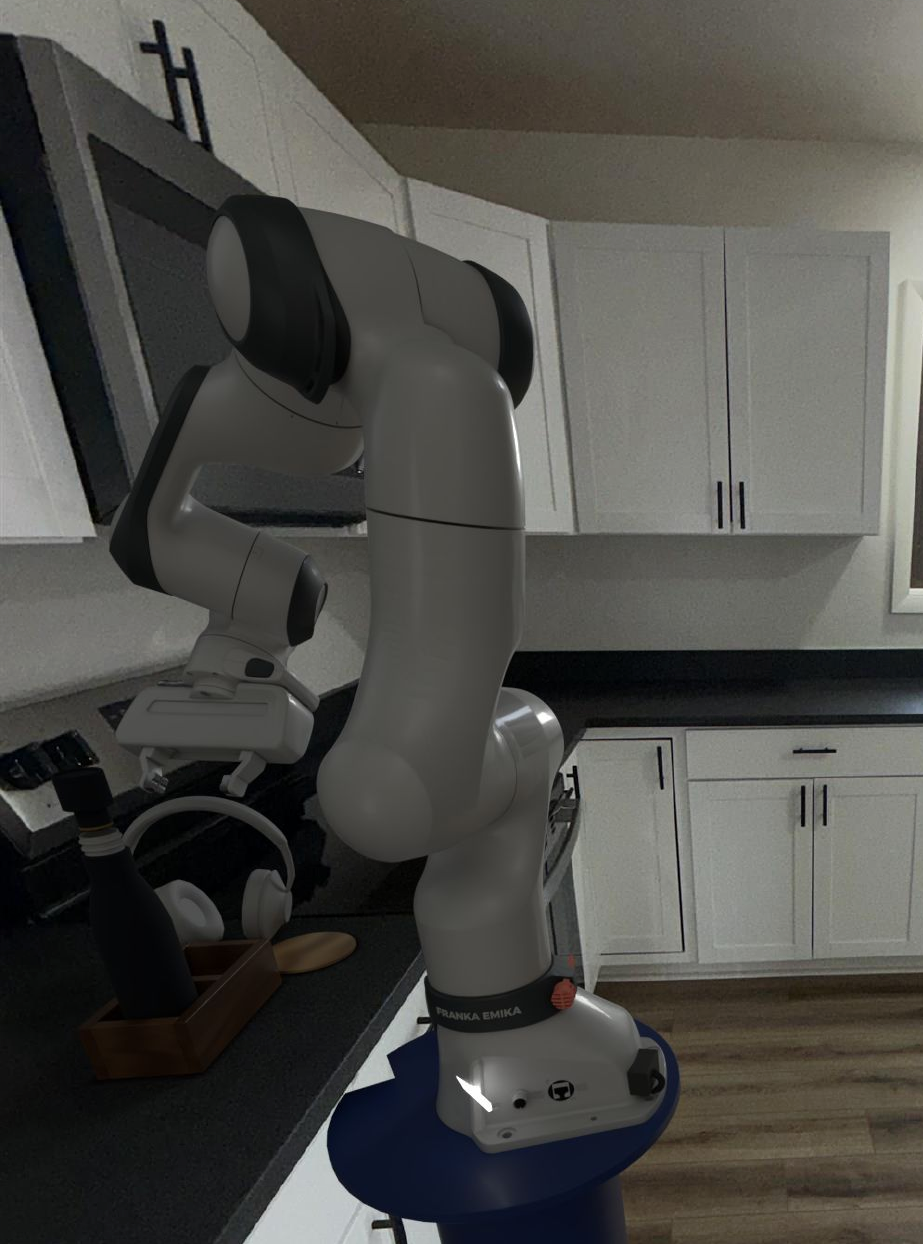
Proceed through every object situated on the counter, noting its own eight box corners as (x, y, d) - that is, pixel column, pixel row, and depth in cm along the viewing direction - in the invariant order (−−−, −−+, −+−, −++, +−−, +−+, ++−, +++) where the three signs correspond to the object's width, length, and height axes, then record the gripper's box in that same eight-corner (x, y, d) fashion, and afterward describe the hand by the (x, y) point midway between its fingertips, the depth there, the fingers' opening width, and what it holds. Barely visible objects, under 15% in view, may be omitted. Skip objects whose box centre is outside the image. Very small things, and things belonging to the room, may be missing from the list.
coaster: (368, 932, 116) (367, 929, 115) (337, 971, 106) (337, 968, 105) (282, 936, 114) (281, 934, 114) (243, 976, 104) (242, 973, 104)
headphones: (137, 970, 106) (81, 816, 98) (163, 939, 114) (112, 794, 106) (305, 949, 111) (265, 801, 103) (318, 920, 119) (282, 781, 111)
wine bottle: (138, 1073, 86) (26, 786, 74) (141, 1044, 91) (35, 769, 79) (213, 1053, 89) (117, 774, 77) (212, 1025, 94) (121, 759, 82)
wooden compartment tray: (282, 982, 103) (269, 938, 101) (203, 1073, 86) (185, 1022, 84) (195, 987, 102) (180, 942, 99) (97, 1080, 85) (76, 1029, 83)
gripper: (126, 662, 93) (77, 774, 88) (297, 666, 90) (255, 781, 86) (172, 696, 99) (128, 802, 94) (333, 700, 96) (296, 810, 91)
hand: (190, 792), depth 90 cm, fingers open, 8 cm apart
